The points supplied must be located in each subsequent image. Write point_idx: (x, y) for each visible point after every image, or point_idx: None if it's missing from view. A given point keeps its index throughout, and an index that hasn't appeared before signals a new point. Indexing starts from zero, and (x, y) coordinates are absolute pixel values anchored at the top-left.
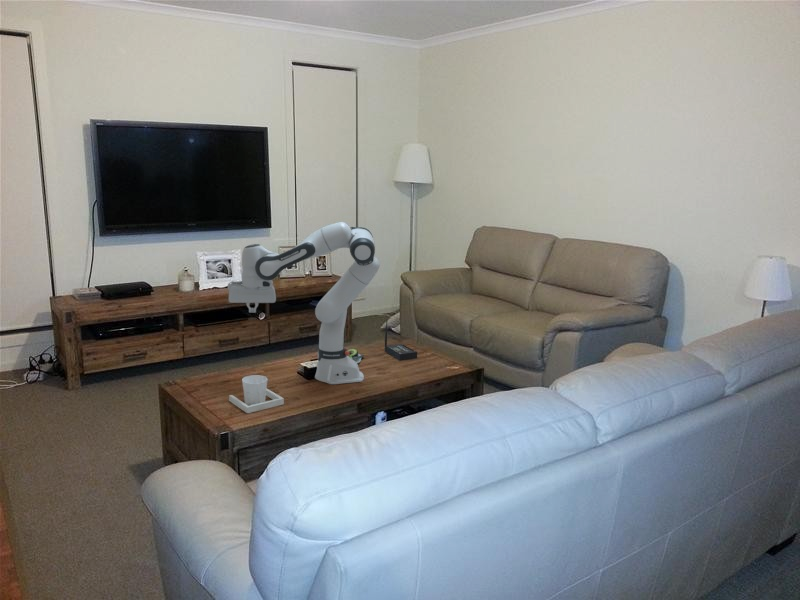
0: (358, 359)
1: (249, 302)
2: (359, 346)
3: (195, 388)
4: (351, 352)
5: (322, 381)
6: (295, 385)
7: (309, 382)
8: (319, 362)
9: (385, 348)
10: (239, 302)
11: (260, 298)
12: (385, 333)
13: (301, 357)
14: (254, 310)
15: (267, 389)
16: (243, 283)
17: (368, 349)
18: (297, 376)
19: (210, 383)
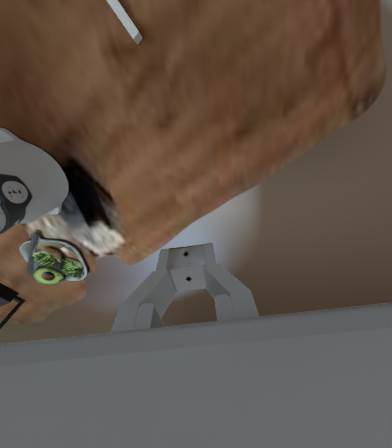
0: (28, 258)
1: (219, 322)
2: (66, 304)
3: (315, 70)
4: (44, 274)
5: (32, 145)
6: (83, 115)
7: (61, 140)
8: (19, 174)
9: (11, 297)
10: (368, 307)
11: (14, 432)
12: (1, 325)
13: (131, 262)
14: (168, 258)
15: (119, 12)
16: None
17: (47, 297)
18: (103, 176)
19: (277, 114)
